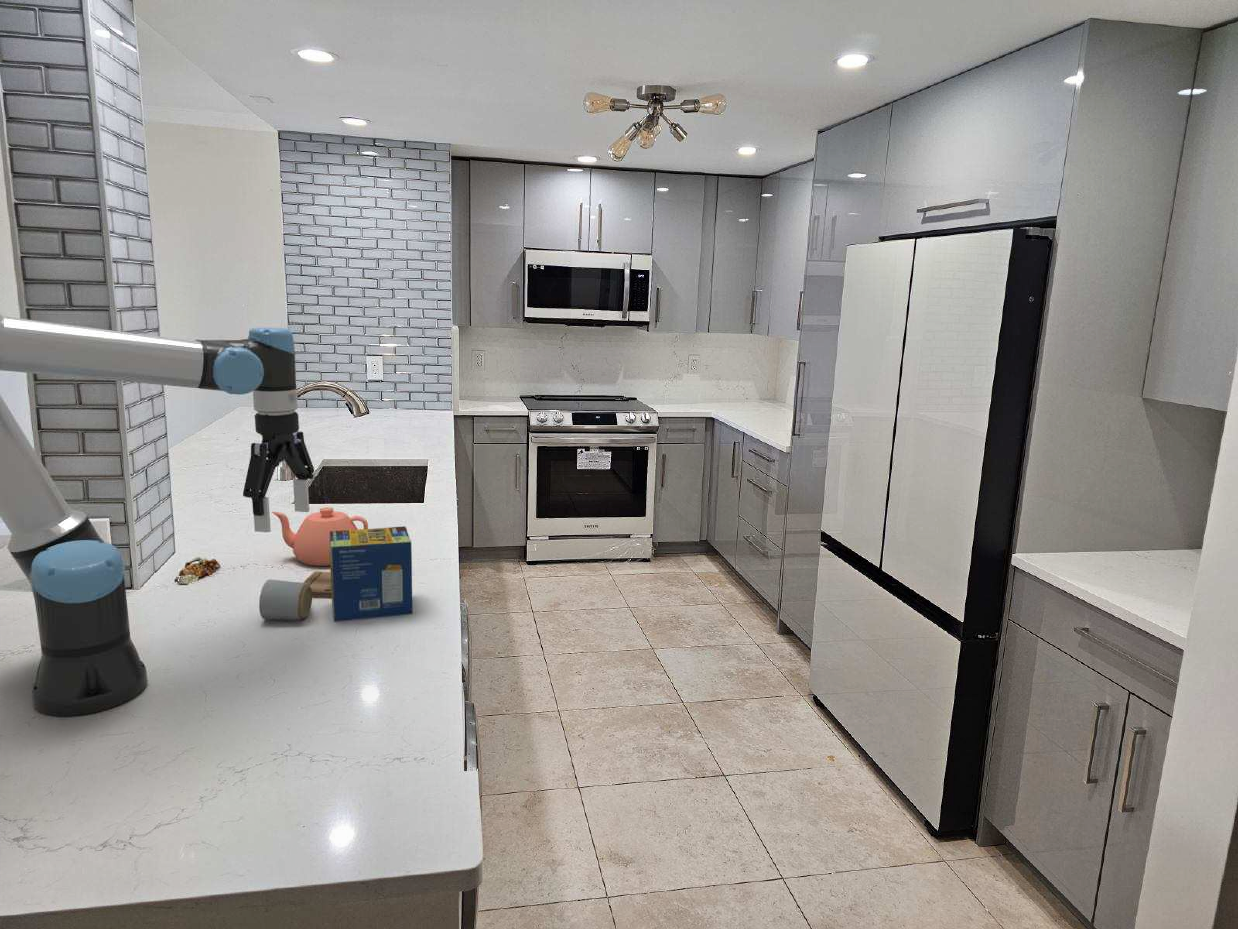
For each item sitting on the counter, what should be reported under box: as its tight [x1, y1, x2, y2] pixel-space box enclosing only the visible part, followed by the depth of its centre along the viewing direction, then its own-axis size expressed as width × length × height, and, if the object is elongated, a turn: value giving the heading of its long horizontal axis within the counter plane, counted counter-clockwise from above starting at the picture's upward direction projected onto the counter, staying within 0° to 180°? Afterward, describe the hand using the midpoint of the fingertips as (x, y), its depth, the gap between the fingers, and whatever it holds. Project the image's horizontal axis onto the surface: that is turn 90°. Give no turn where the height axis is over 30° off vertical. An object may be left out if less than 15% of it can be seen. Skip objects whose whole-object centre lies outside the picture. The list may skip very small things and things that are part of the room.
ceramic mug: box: [258, 578, 313, 621], centre depth 158 cm, size 11×8×8 cm
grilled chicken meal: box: [174, 556, 221, 585], centre depth 177 cm, size 7×12×4 cm, turn 7°
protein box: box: [330, 525, 413, 622], centre depth 162 cm, size 10×15×16 cm
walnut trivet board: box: [302, 571, 332, 599], centre depth 173 cm, size 12×8×2 cm, turn 1°
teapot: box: [271, 506, 369, 567], centre depth 190 cm, size 22×16×12 cm
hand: (283, 521), depth 154 cm, fingers open, 13 cm apart
